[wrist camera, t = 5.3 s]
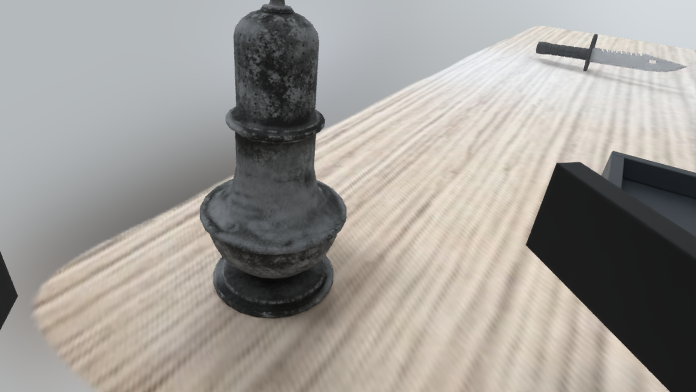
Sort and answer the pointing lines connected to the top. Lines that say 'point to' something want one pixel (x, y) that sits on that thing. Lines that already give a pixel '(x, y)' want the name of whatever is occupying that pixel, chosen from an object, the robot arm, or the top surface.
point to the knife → (608, 57)
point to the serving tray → (656, 187)
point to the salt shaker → (274, 174)
